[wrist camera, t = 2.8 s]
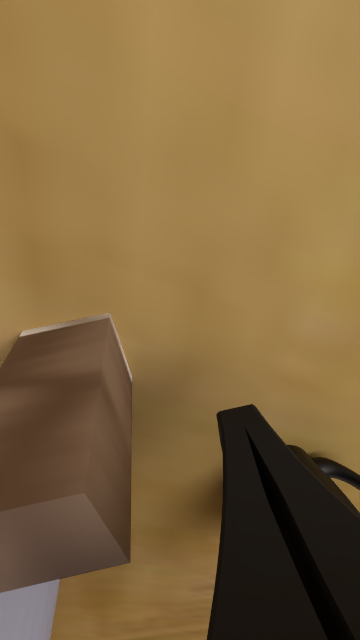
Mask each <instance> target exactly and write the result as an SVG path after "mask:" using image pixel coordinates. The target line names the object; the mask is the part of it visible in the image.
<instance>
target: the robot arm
mask: <svg viewBox="0 0 360 640" xmlns="http://www.w3.org/2000/svg"><path fill="white" fill-rule="evenodd" d="M217 421H218V428H219V435H220V442H221V447H222V451H223V505H222V522H221V534H220V545H219V555H218V564H217V573H216V581H215V589H214V595H213V602H212V609H211V616H210V622H209V629H208V635H207V640H360V517H359V516H358V515H357V514H356V513H355V512H354V511H352V510H351V509H350V508H349V507H348V506H347V505H346V504H345V503H344V502H342V501H341V500H340V499H339V498H338V497H337V496H336V495H335V494H334V493H333V492H332V491H331V490H330V489H328V488H327V487H326V486H325V485H324V484H323V483H322V482H321V481H320V480H319V479H318V478H317V477H316V476H315V475H314V474H313V473H312V472H311V471H310V470H309V469H308V468H307V467H306V466H305V465H304V464H303V462H302V461H301V460H300V459H299V458H298V457H297V456H296V455H295V454H294V453H293V452H292V451H291V449H290V448H289V447H288V446H287V445H286V444H285V443H284V442H283V441H282V439H281V438H280V437H279V436H278V435H277V433H276V432H275V431H274V430H273V429H272V427H271V426H270V425H269V424H268V422H267V421H266V420H265V419H264V417H263V416H262V415H261V413H260V412H259V411H258V409H257V408H256V406H255V405H253V404H250V405H246V406H241V407H237V408H232V409H228V410H223V411H219V412H218V413H217ZM59 583H60V579H58V580H53V581H49V582H45V583H41V584H36V585H32V586H28V587H23V588H19V589H15V590H11V591H6V592H2V593H0V640H50V637H51V631H52V625H53V619H54V613H55V607H56V601H57V595H58V589H59Z"/></svg>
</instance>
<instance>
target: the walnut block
mask: <svg viewBox="0 0 360 640" xmlns="http://www.w3.org/2000/svg"><path fill="white" fill-rule="evenodd" d="M131 436H132V375H131V372H130V369H129V366H128V364H127V361H126V358H125V355H124V352H123V349H122V346H121V343H120V340H119V337H118V335H117V332H116V329H115V326H114V323H113V320H112V317H111V314H110V313H106V314H101V315H97V316H92V317H87V318H82V319H78V320H73V321H68V322H64V323H59V324H54V325H49V326H45V327H40V328H35V329H30V330H26V331H22V333H21V334H20V336H19V338H18V339H17V341H16V343H15V345H14V346H13V348H12V350H11V351H10V353H9V355H8V356H7V358H6V360H5V361H4V363H3V365H2V367H1V368H0V593H2V592H6V591H11V590H15V589H19V588H23V587H28V586H32V585H36V584H41V583H45V582H49V581H53V580H58V579H62V578H66V577H71V576H75V575H79V574H83V573H88V572H92V571H96V570H100V569H105V568H109V567H113V566H118V565H122V564H126V563H130V539H131Z"/></svg>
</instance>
